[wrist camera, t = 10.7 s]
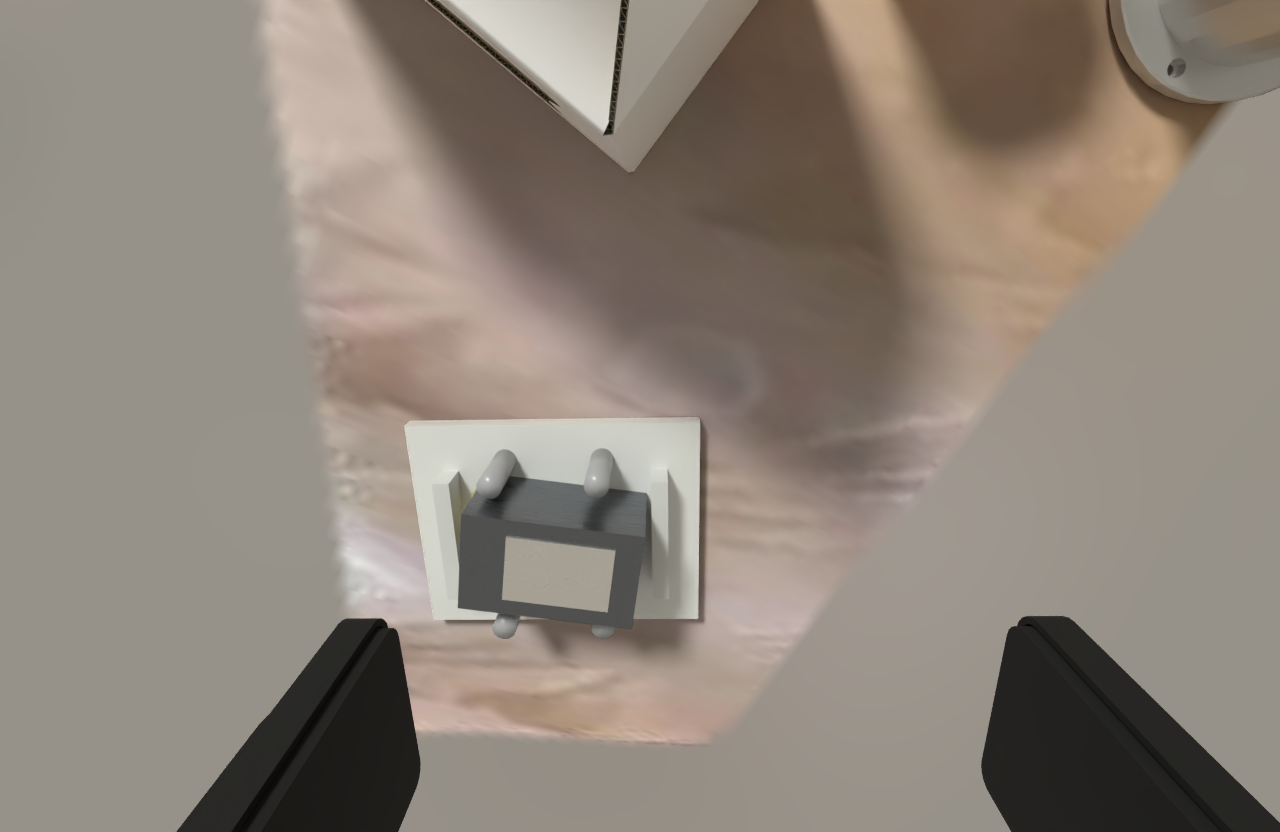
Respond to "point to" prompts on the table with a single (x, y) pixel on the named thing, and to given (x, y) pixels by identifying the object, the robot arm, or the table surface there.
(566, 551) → the drive
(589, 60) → the gable box
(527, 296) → the table surface
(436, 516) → the peg fixture base
